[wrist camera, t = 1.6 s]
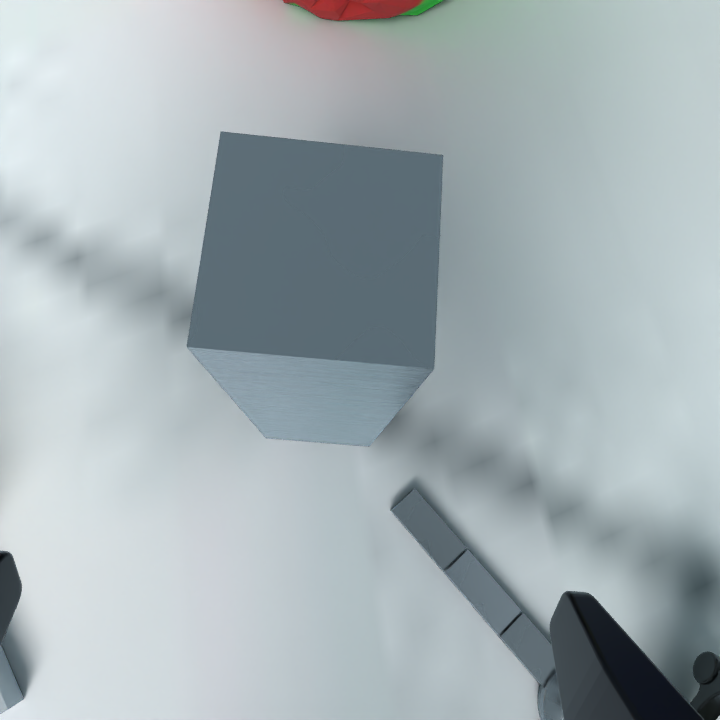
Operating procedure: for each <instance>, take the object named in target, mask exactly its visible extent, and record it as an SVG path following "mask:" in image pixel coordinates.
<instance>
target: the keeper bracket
mask: <svg viewBox="0 0 720 720" xmlns="http://www.w3.org/2000/svg"><path fill="white" fill-rule="evenodd" d="M23 699H24V698H23V695H22V693H21V691H20V688H19V686H18V684H17V681H16V679H15V676H14V674H13V672H12V669H11V667H10V665H9V662H8V660H7V658H6V655H5V653H4V650H3V648H2V646H0V714H1V713H3V712H5V711H6V710H8V709H9V708H11V707H12V706H14V705H15V704H17V703H19V702H20V701H22V700H23Z"/></svg>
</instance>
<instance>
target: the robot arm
mask: <svg viewBox="0 0 720 720" xmlns="http://www.w3.org/2000/svg"><path fill="white" fill-rule="evenodd" d="M21 591H22V584H21V580H20V577H19V574H18V571H17V568H16V565H15V562H14V558H13V556H12V554H11V553H9V552H8V551H0V646H1V644H2V641H3V639H4V636H5V634H6V631H7V629H8V627H9V624H10V622H11V619H12V617H13V614H14V612H15V609H16V607H17V604H18V602H19V599H20V596H21ZM550 638H551V644H552V650H553V657H554V663H555V669H556V675H557V681H558V687H559V693H560V700H561V706H562V712H563V718H564V720H704V719H703V718H702V717H701V716H700V715H699V713H698V712H697V711H696V710H695V709H694V708H693V707H692V706H691V705H690V703H689V702H688V701H687V700H686V699H685V698H684V697H683V696H682V694H681V693H680V692H679V691H678V690H677V689H676V688H675V687H674V686H673V684H672V683H671V682H670V681H669V680H668V679H667V678H666V677H665V676H664V674H663V673H662V672H661V671H660V670H659V669H658V668H657V667H656V666H655V664H654V663H653V662H652V661H651V660H650V659H649V658H648V657H647V656H646V654H645V653H644V652H643V651H642V650H641V649H640V648H639V647H638V646H637V644H636V643H635V642H634V641H633V640H632V639H631V638H630V637H629V636H628V634H627V633H626V632H625V631H624V630H623V629H622V628H621V627H620V625H619V624H618V623H617V622H616V621H615V620H614V619H613V618H612V617H611V615H610V614H609V613H608V612H607V611H606V610H605V609H604V608H603V607H602V605H601V604H600V603H599V602H598V601H597V600H596V599H595V598H594V597H593V596H592V595H591V594H589V593H586V592H575V591H566V592H565V593H563V594H562V596H561V598H560V600H559V603H558V605H557V607H556V609H555V612H554V614H553V616H552V618H551V622H550Z"/></svg>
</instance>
